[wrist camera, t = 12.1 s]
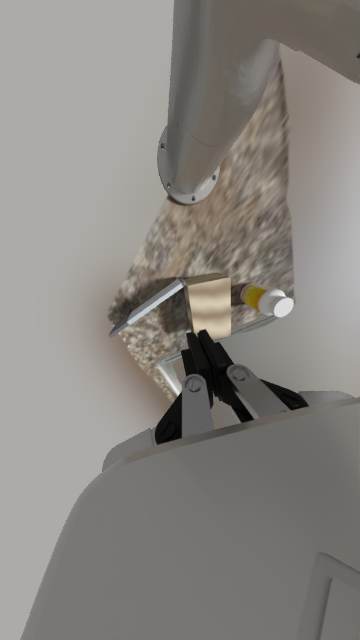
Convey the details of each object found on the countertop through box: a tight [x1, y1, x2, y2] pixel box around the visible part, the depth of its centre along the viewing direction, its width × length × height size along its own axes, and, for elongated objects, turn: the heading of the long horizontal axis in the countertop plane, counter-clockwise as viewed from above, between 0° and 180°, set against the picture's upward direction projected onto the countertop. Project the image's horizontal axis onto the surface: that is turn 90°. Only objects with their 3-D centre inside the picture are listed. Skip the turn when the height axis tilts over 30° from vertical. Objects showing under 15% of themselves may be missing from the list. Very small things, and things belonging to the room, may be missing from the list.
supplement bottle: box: [241, 283, 293, 317], centre depth 36 cm, size 7×7×13 cm
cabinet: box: [184, 273, 231, 340], centre depth 38 cm, size 16×10×8 cm, turn 10°
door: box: [109, 277, 186, 337], centre depth 35 cm, size 23×1×6 cm, turn 124°
